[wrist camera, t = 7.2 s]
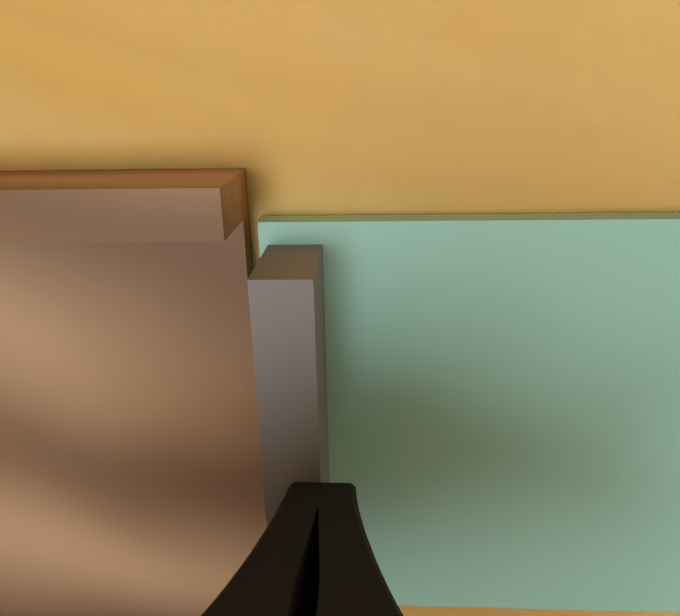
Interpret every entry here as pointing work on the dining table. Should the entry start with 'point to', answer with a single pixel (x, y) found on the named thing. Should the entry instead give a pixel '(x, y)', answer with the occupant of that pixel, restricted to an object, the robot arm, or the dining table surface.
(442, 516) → the cover plate
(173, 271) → the walnut box
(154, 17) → the dining table surface
